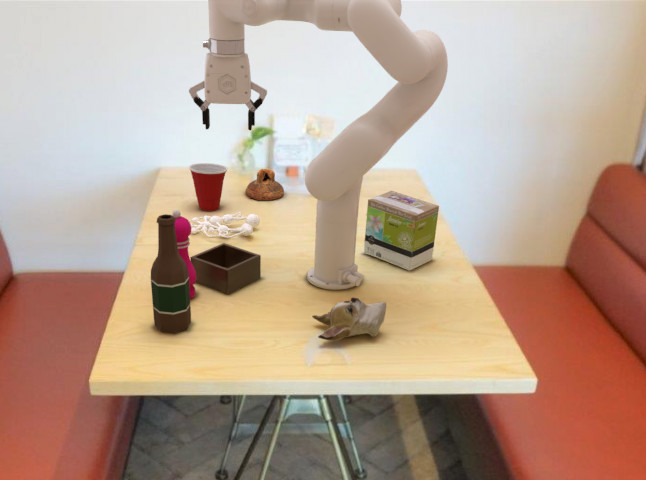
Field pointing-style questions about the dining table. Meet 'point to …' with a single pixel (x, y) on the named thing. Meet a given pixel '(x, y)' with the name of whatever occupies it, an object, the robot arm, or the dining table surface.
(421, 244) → the tea box
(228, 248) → the box
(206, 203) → the plastic cup
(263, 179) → the bell
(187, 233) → the pepper mill
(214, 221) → the tangled rod sculpture
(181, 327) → the beer bottle
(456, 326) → the dining table surface
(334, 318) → the ceramic sculpture
